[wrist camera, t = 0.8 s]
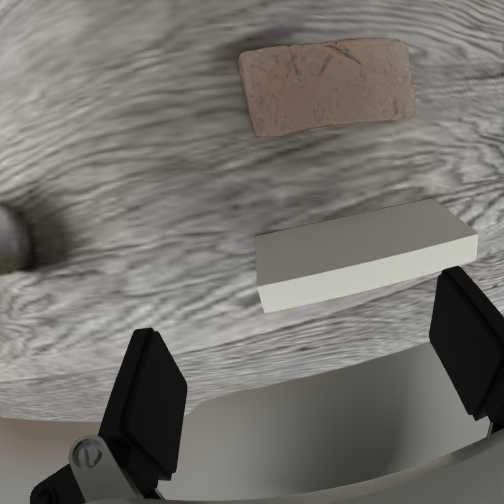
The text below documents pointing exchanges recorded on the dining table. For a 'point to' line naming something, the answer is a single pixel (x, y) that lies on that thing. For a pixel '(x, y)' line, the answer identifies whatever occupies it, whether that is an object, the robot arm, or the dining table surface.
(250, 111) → the brick
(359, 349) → the dining table surface
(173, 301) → the dining table surface
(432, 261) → the grey bookend
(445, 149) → the dining table surface
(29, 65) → the dining table surface
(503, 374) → the robot arm
